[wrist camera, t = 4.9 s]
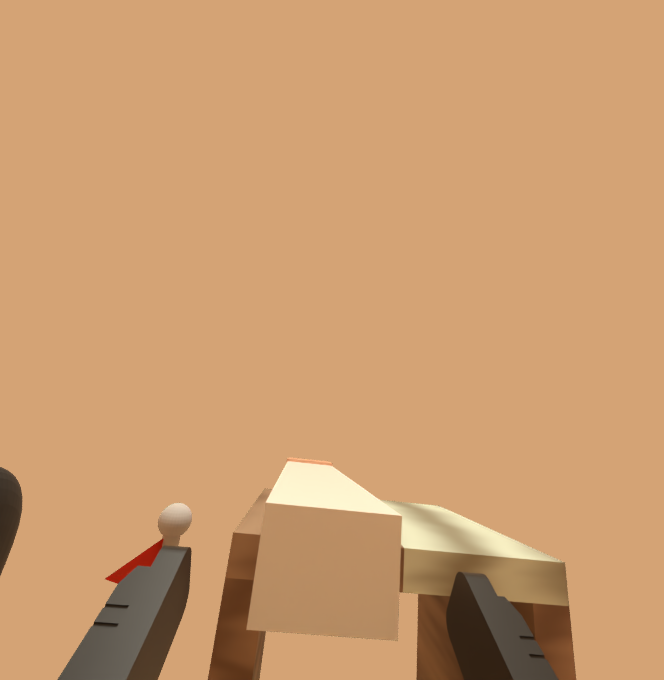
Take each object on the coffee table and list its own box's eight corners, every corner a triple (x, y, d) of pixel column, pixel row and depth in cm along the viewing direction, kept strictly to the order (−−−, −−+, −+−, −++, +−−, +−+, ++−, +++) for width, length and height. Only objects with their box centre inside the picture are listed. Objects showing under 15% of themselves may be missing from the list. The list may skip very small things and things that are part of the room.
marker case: (242, 629, 9) (263, 494, 10) (283, 491, 32) (288, 457, 33) (401, 640, 9) (405, 508, 10) (325, 496, 33) (329, 461, 34)
